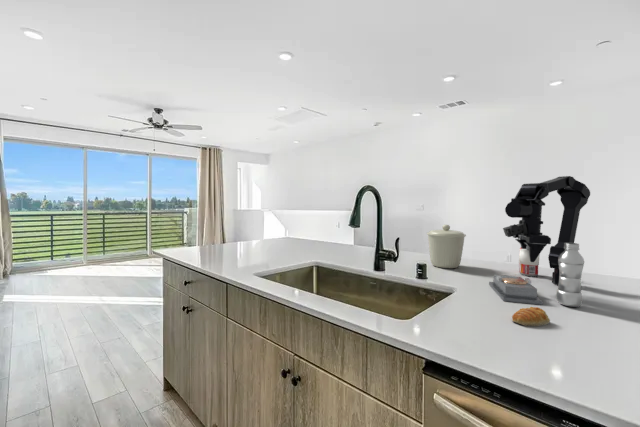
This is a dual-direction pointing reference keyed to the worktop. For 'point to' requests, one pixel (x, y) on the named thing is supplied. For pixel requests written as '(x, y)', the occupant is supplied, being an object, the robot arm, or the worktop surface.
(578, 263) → the plastic bottle
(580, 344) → the worktop surface
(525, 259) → the white rounded piece
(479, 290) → the worktop surface
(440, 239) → the canister
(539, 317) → the pastry
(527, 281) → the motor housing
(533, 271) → the soda can
